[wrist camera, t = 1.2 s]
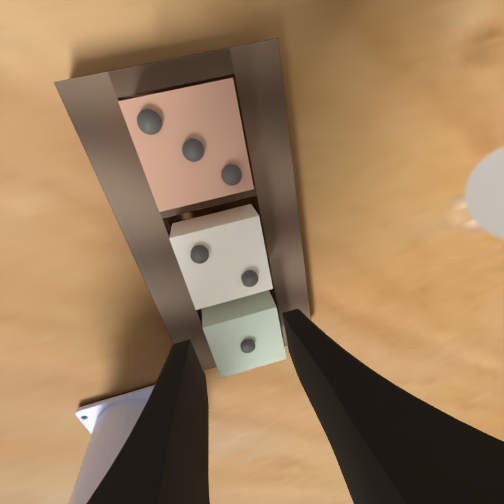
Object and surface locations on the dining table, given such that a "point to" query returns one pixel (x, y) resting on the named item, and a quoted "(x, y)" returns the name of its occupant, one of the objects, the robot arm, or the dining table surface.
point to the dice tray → (157, 225)
